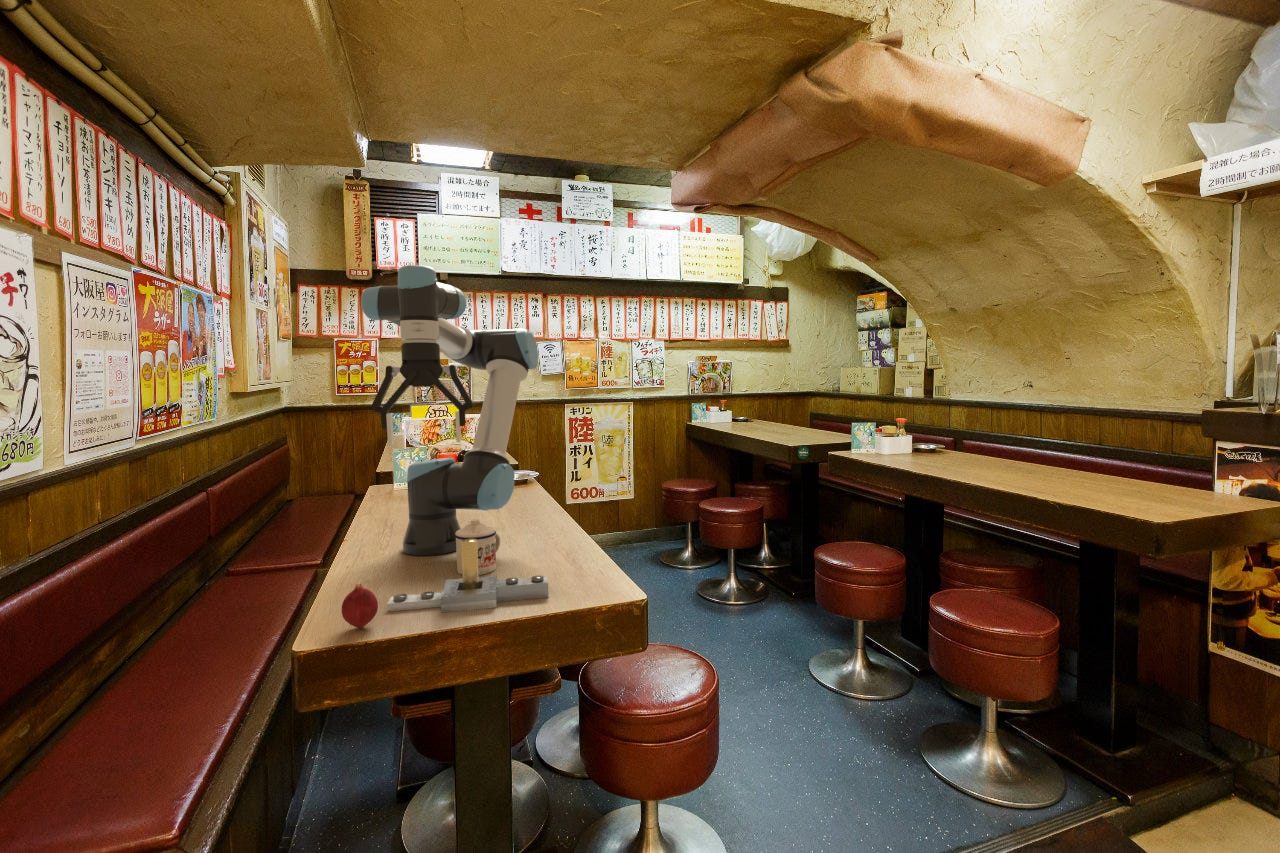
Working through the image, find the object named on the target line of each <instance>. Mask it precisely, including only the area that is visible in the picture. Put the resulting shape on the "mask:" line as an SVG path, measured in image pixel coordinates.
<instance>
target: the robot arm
mask: <svg viewBox="0 0 1280 853" xmlns="http://www.w3.org/2000/svg"><path fill="white" fill-rule="evenodd" d="M360 303H361V309H362V311H363V313H364V315H365V316H366V318H367V319H370V321H371V320H372V321H380V322H381V321H388V322H391V323H392V324H394V325H396V326H397V327H400V328H399V329H400V340H401V341H403V342H402V343H401V345H400V347H401V348H400V349H401V350H400V351H401V366H399V367H398V366H392V365H386V367H385V372H384V374H385V375H384V378H383V381H382V383H381V385H380V387H379V389H378V391H377V392H376V395H375V396H374V399H373V401H372V404H371V406H370V410H371V411H372V412H377V413H379V414H380V423H381V425H380V426H381V428H382V430H387V431H386V433H387V434H386V435H387V446H393V445H394V444H395V440H394V435H395V434H394V419H393V418H394V417H393V416H394V415H393V412H391V413H390V410H391V409H392V408H393V406H394V405H395V404H396V403H397V401H399V400H400V398H401V397H402V395H403V394H404V393H405V392H406V391H407V390H408V389H409V387H411V386H412V387H414V388H420V387H427V388H428V387H429V388H430V387H432V386H435V387H436V388H437V389H438V390H439V391H440V392H441V393H442V394H443V395H444V396H445V398H446V399H448V400H449V401H450V402H451V403H452V405H454V407H455V408H456V409H457V410H456V411H455V412H454V413H455V414H454V415H455V416H454V417H455V434H456V435H455V438H456V441H455V442H456V443H461V441H462V434H461V431H462V430H461V427H465V426H466V411H467V410H470V409H471V408H473V407H474V403H473V401H472V399H471V397H470V395H469V394H468V392H467V390H466V388H465V386H464V385H463V383H462V381H461V379H460V378H459V376H458V372H457V366H456V365H455V364H451V365H447V366H442V364H441V354H440V353H441V352H442V354H443V355H444V356H445V357H446V358H448V359H449V360H452V361H454V362H456V363H459V364H461V365H463V366H466V367H469V368H471V369H476V370H482V371H486V372H487V373H488V375H489V376H488V381H487V385H486V390H485V393H484V398H483V402H482V408H481V409H480V410H481V411H480V415H479V419H478V424H477V428H476V433H475V437H474V439H473V445H472V449H470V450H468V451H466V452H465V454H464V457H463V458H464V459H463V461H462V463H456V461H455V459H454V457H443V458H435V459H428V460H424V461H418V462H414V463H412V464H410V465H409V466H408V468H407V472H406V474H407V477H406V485H407V503H408V524H407V527H406V530H405V533H404V537H403V540H402V552H403V553H404V554H406V555H411V556H419V557H420V556H422V557H423V556H437V555H443V554H448V553H452V552H455V551H456V537H455V533H456V531H458V530H459V529H462V527H461V525H460V523H459V520H458V516H457V510H472V511H473V510H479V511H490V510H491V511H493V510H500V509H502V508H504V506H506V505H507V504H508V503H509V501H510V499H511V497H512V495H513V492H514V488H515V483H516V482H515V476H516V475H515V471H514V469H513V467H512V465H510V464H511V463H510V459H508V457H507V456H506V454H507V448H508V445H509V444H508V443H509V439H510V434H511V429H512V424H513V419H514V416H515V409H516V406H517V405H516V404H517V400H518V394H519V389H520V386H521V382H523V381H525V380H526V379H527V377H528V372H529V371H530V370H535V369H536V368H537V367H538V364H539V353H538V346H537V341H536V338H535V336H534V335H533V333H532V332H531V330H530V329H527V328H518V327H514V328H502V329H495V328H494V329H468V328H467V327H464V326H462V325H455V324H454V323H452V322H450V321H449V320H456V319H458V318H460V317H461V316H463V314H464V313H465V311H466V308H467V300H466V296H465V294H464V293H463V291H462V290H461V289H460V288H458V287H456V286H453V285H451V284H446V283H443V282H439V281H438V278H437V272H436V270H435V268H433V267H431V266H428V265H419V264H418V265H417V264H415V265H414V264H413V265H412V264H409V265H404V266H401V267H400V268H398V271H397V285H379V286H373V287H372V286H371V287H367V288H365V290H364V291H363V292H362V294H361V300H360ZM440 351H441V352H440ZM399 373H400V374H401V375H402V377H403V378H404V380H403V381H402V383H400V385H399V386H398V388H397V389H396V390H395V391H394V393H393V394H392V395H391V396H390V397H389V398H388V399H387V401H386V402H385V403H384V404H383V406H382V403H383V400H384V398H385V396H386V394H387V392H388V390H389V389H390V386H391V384H392V382H393V379H394V377H397V375H398V374H399ZM443 373H445V374H446V375H447V376H449V377H450V378H451V380H452V381H453V383H454V385H455V387H456V389H457V390H458V393H459V394H460V396H461V398H462V399H463V401H464V404H463V403H462V402H461V401H460V400H459V399H458V398H457V397H456V396H455V395H454V394H453V392H451V391H450V389H448V387H447V386H446V385H445V384H444V383H443V382H442V381H441V380H440V379H439V378H440V377H441V376H442V374H443Z"/></svg>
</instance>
